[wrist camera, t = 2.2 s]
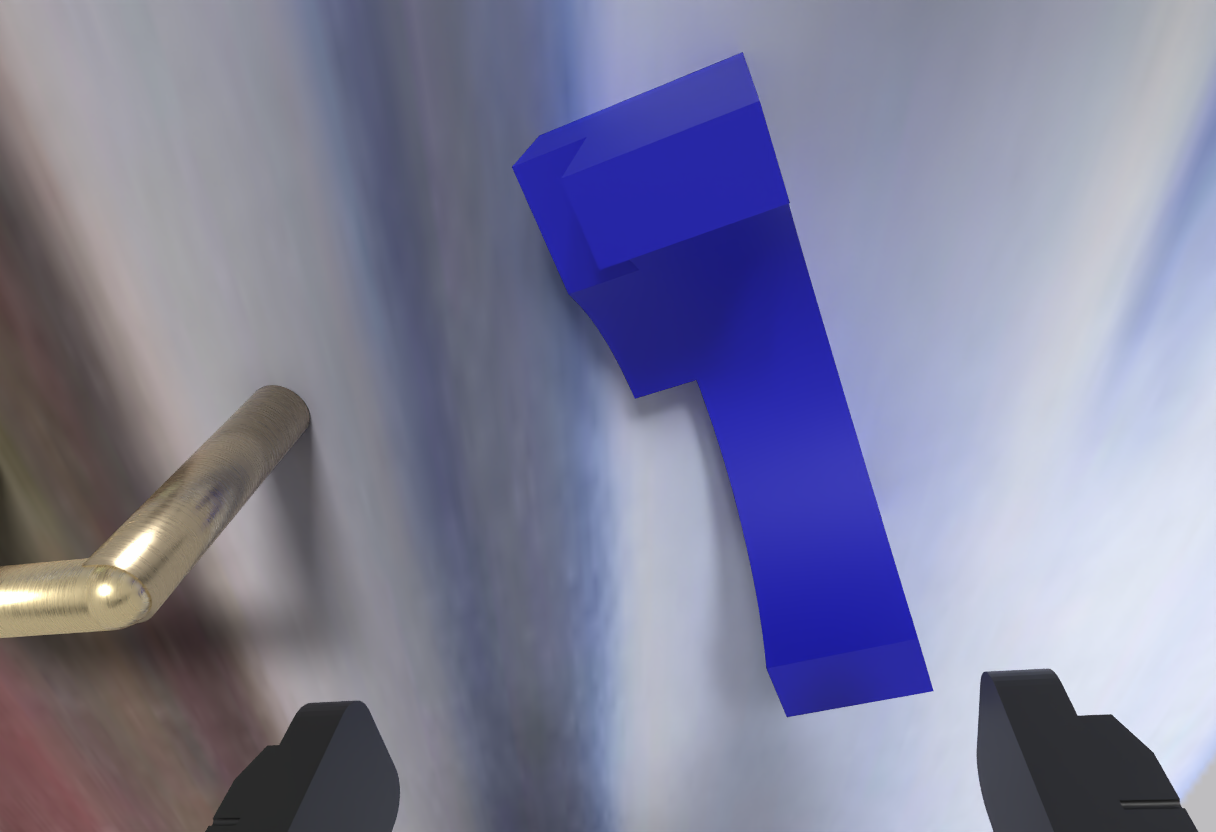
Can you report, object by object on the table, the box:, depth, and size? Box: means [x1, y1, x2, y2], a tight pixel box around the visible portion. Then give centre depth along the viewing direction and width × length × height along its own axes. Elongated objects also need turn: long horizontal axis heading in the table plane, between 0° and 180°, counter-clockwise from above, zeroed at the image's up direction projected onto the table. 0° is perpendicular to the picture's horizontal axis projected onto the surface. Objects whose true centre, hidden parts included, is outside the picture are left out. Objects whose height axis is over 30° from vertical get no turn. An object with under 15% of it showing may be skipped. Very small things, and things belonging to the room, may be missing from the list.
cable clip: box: [512, 52, 933, 717], centre depth 17 cm, size 12×4×6 cm, turn 22°
